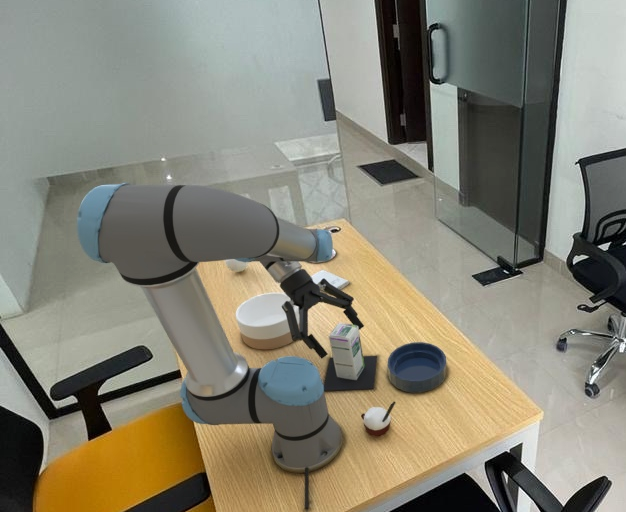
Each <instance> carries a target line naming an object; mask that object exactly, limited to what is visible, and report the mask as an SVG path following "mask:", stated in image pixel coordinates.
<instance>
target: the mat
mask: <svg viewBox="0 0 626 512" xmlns="http://www.w3.org/2000/svg"><path fill="white" fill-rule="evenodd" d="M363 359H364V365H365V367H364V369H363V370H362V372H361V374H360V375H359V377H358V378H357V380H351V379H345V378H340V377H337V374H336V369H335V364H334V360H333V357H329V359H328V365H327V369H326V373H325V377H324V381H323V386H324V392H342V391H364V390H365V391H366V390H374V389H375V379H376V371H377V370H376V369H377V361H378V355H363Z"/></svg>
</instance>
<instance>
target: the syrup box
mask: <svg viewBox="0 0 626 512" xmlns="http://www.w3.org/2000/svg"><path fill="white" fill-rule="evenodd" d="M328 340H329V344H330V345H329V346H330V349H331V354H332V358H333V360H334V364H335V369H336V374H337V377H340V378H345V379H351V380H357V378H358V377H359V375H360V374H361V372H362V370H363V369H364V367H365V365H364V359H363V356H364V353H363V348H362V347H363V346H362V341H361V340H362V339H361V336H360V330H359V328H358V326H357V325H353V324H352V323H347V322H345V323H344V322H337V324H336V325H335V327H334V328H333V329H332V331H331V332H330V333H329V335H328Z"/></svg>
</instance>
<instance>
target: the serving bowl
mask: <svg viewBox="0 0 626 512" xmlns="http://www.w3.org/2000/svg"><path fill="white" fill-rule="evenodd" d="M387 375H388V378H389V382H390V383H391V384H392V385H393V386H394V387H395V388H396V389H399V390H400V391H402V392H406V393H413V394H415V393H416V394H417V393H425V392H428V391H432V390H434V389H435V388H437V387H439V386H440V385H441V384H442V383H443V382H444V381H445V379H446V376H447V355H446V354H445V353H444V350H443V349H441V348H440V347H439V346H437V345H434V344H432V343H429V342H423V341H416V342H414V341H413V342H409V343H405V344H402V345H401V346H400V345H399V346H398V347H396V348H395V349H394V350H393V351H392V352H391V353H390V354H389V356H388V358H387Z"/></svg>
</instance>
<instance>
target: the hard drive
mask: <svg viewBox="0 0 626 512" xmlns="http://www.w3.org/2000/svg"><path fill="white" fill-rule="evenodd" d="M310 276H311V278H312V280H313V282H314V283H315V284H318V283H319V282H320V281H321V280H322V279H323V278H324V279H326V280H327V281H328V282H329V283H330V284H331V285H333V286H334V287H336V288H338V289H340V290H342V289H344V288H345V287H347V286H349V284H350V281H349V280H348V279H345V278H343V277H341V276H338V275H336V274H334V273H332V272H329V271H326V270H325V269H321V270H319V271H317V272H316V273H314V274H312V275H310ZM320 291H322V292H323V291H324V290H322V289H320ZM324 293H327V292H326V291H324Z"/></svg>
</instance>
